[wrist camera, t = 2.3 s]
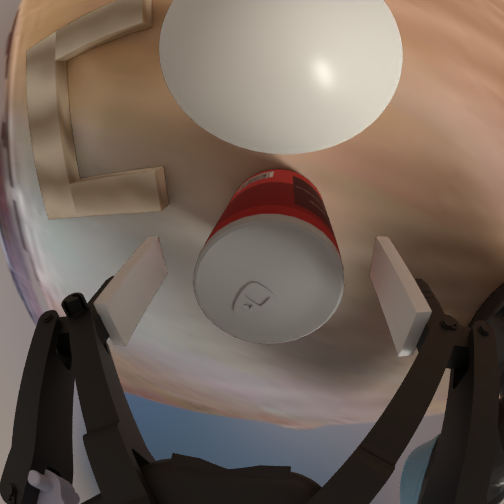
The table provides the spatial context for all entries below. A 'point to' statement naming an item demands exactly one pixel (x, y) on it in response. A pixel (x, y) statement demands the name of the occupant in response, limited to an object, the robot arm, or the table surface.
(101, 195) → the notched board
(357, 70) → the bobbin
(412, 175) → the table surface
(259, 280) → the canned food
